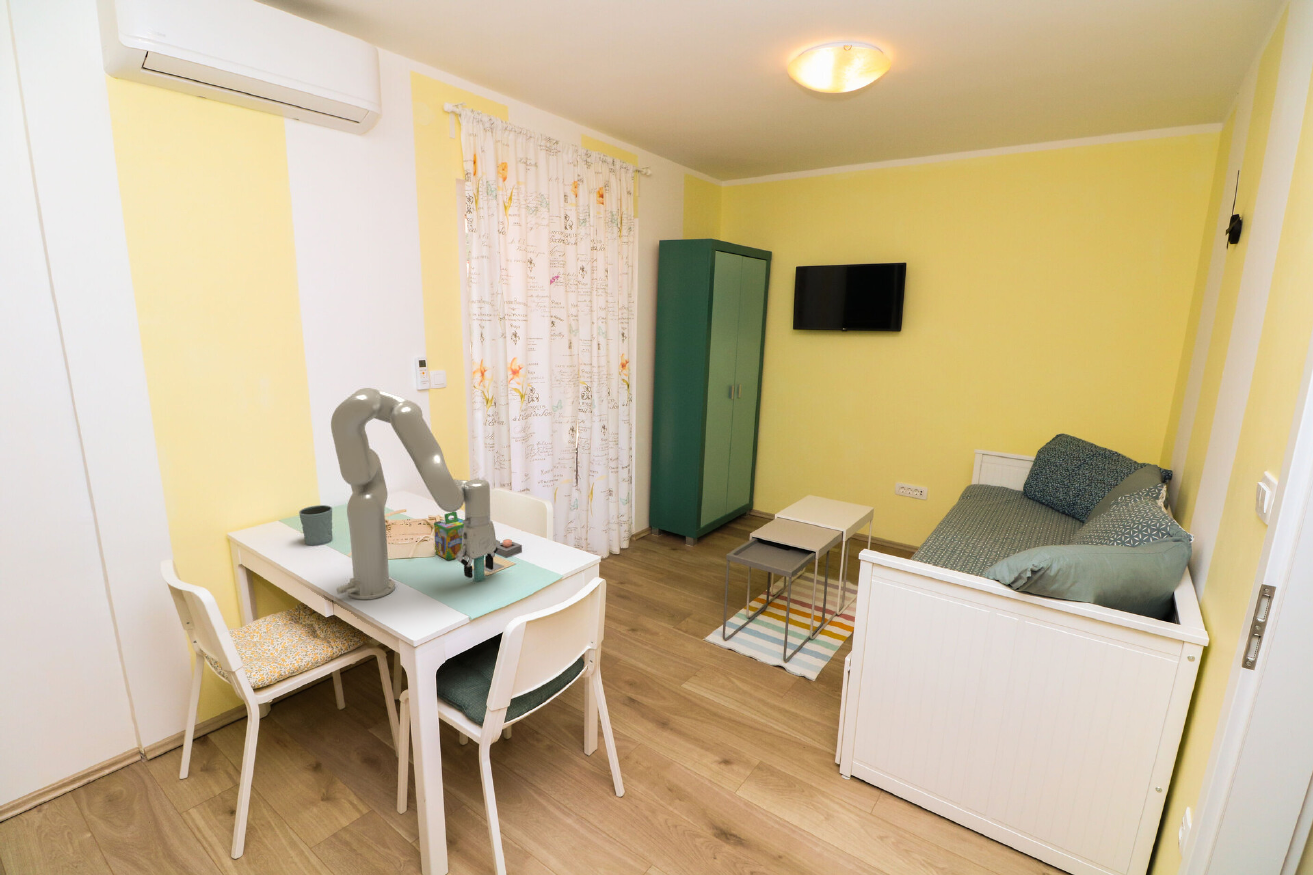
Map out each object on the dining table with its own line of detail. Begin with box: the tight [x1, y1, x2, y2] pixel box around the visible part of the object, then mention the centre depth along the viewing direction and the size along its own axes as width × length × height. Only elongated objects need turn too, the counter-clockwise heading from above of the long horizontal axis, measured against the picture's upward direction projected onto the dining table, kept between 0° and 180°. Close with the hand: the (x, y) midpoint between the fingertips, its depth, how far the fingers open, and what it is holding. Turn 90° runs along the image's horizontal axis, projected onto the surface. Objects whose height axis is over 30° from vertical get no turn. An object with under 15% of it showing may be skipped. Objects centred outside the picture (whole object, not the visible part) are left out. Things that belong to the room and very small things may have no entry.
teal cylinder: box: [472, 555, 486, 582], centre depth 185 cm, size 3×3×9 cm
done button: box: [502, 538, 513, 548], centre depth 207 cm, size 3×3×3 cm
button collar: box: [495, 541, 523, 559], centre depth 207 cm, size 7×7×2 cm
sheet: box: [471, 555, 516, 577], centre depth 196 cm, size 12×10×1 cm
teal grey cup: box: [298, 504, 333, 547], centre depth 209 cm, size 10×10×12 cm
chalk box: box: [433, 511, 465, 561], centre depth 203 cm, size 9×9×15 cm
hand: (479, 572), depth 185 cm, fingers open, 7 cm apart
